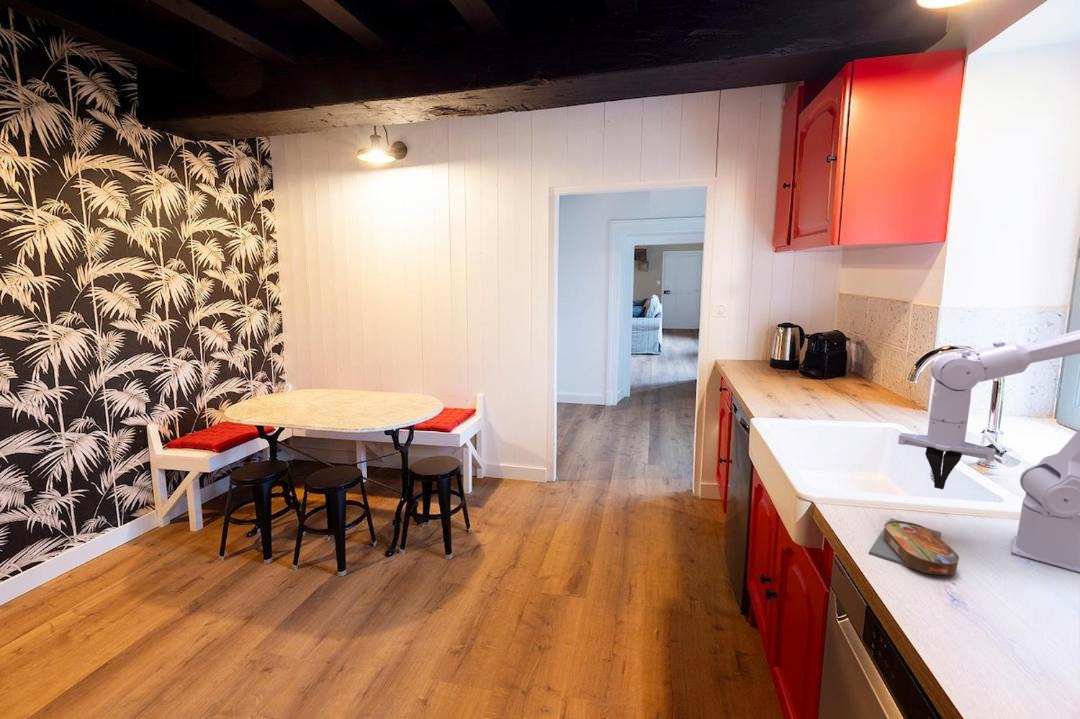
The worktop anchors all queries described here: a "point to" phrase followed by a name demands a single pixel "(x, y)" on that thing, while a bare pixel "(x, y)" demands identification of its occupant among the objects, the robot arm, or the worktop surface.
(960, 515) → the worktop surface
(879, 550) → the mat
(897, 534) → the tin
